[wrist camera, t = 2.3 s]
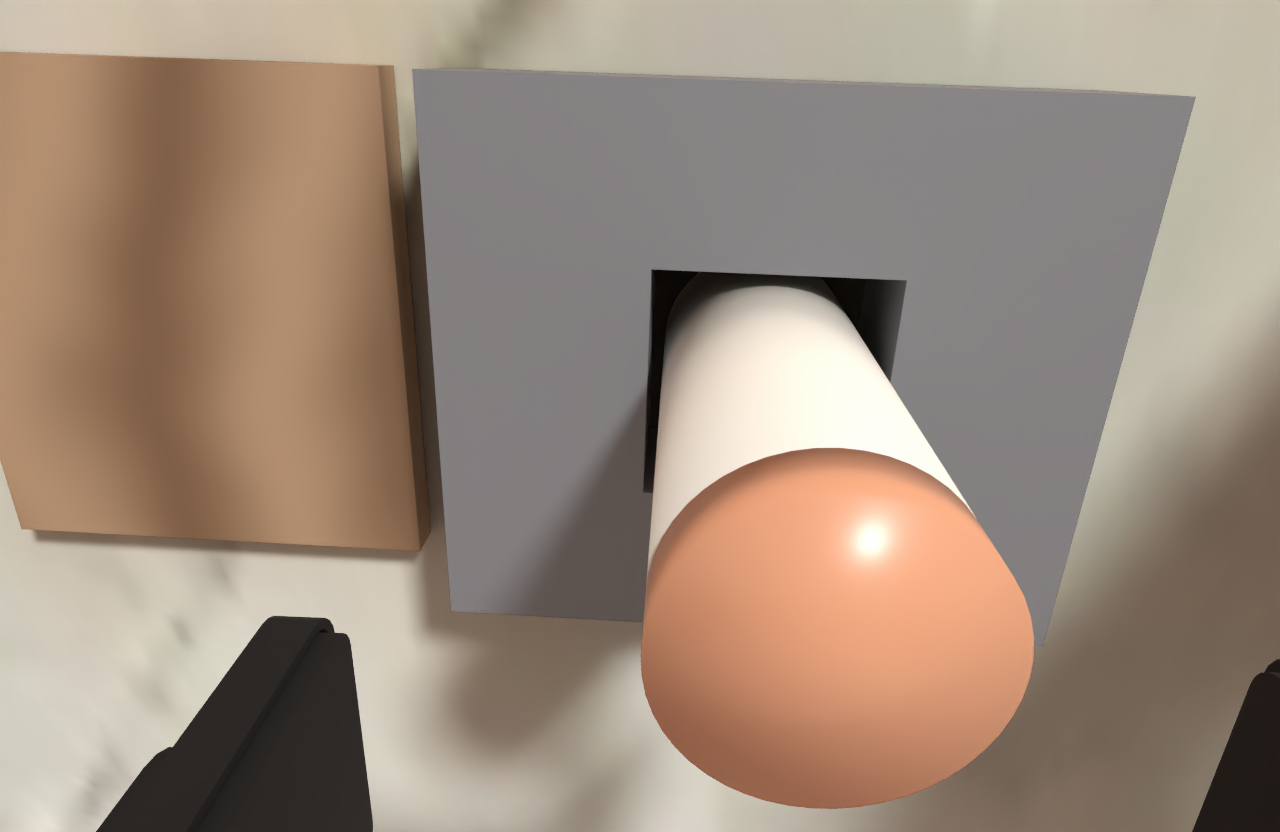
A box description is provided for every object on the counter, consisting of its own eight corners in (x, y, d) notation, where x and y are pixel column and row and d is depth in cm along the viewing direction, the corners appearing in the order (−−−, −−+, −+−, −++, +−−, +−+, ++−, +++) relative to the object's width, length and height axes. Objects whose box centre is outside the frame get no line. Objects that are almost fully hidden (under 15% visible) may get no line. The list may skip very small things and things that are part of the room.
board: (393, 65, 18) (378, 65, 17) (430, 531, 23) (419, 551, 22) (-87, 48, 19) (-126, 47, 18) (47, 510, 23) (21, 529, 22)
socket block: (1103, 90, 18) (1196, 96, 15) (991, 562, 23) (1042, 645, 19) (460, 67, 18) (412, 69, 15) (483, 534, 23) (450, 611, 20)
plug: (855, 256, 19) (1076, 508, 8) (832, 426, 21) (990, 820, 10) (668, 248, 20) (647, 485, 9) (661, 417, 21) (635, 796, 10)
